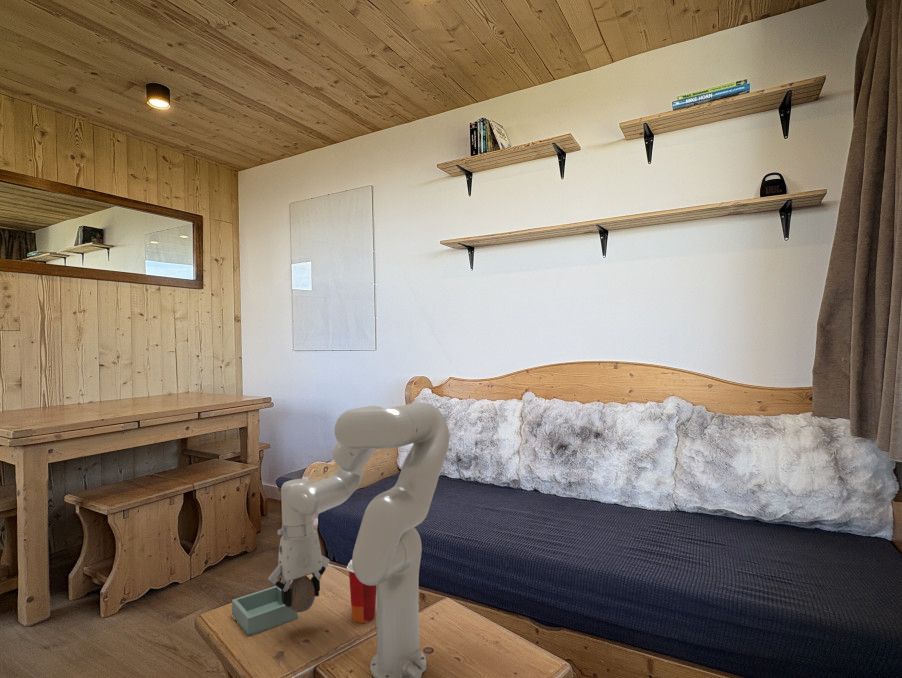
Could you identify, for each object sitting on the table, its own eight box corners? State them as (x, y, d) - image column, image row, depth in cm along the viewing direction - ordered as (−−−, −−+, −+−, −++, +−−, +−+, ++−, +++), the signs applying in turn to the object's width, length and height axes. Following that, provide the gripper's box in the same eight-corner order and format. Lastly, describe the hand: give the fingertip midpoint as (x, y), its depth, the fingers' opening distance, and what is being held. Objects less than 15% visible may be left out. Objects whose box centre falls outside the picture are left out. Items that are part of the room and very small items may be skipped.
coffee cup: (378, 608, 141) (377, 553, 141) (379, 623, 133) (378, 566, 133) (348, 611, 139) (347, 556, 140) (347, 627, 131) (346, 569, 132)
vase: (311, 614, 126) (309, 578, 126) (283, 616, 126) (282, 580, 126) (319, 601, 132) (317, 567, 133) (292, 602, 133) (291, 568, 133)
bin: (297, 618, 136) (297, 601, 136) (248, 636, 128) (247, 618, 128) (278, 600, 146) (278, 584, 146) (231, 616, 138) (231, 599, 138)
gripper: (270, 541, 121) (273, 617, 121) (336, 523, 133) (339, 593, 132) (259, 534, 127) (262, 607, 126) (323, 518, 138) (326, 584, 138)
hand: (301, 599), depth 129 cm, fingers closed on vase, 6 cm apart
